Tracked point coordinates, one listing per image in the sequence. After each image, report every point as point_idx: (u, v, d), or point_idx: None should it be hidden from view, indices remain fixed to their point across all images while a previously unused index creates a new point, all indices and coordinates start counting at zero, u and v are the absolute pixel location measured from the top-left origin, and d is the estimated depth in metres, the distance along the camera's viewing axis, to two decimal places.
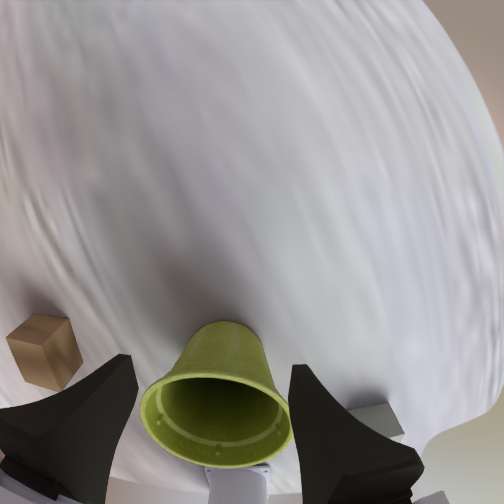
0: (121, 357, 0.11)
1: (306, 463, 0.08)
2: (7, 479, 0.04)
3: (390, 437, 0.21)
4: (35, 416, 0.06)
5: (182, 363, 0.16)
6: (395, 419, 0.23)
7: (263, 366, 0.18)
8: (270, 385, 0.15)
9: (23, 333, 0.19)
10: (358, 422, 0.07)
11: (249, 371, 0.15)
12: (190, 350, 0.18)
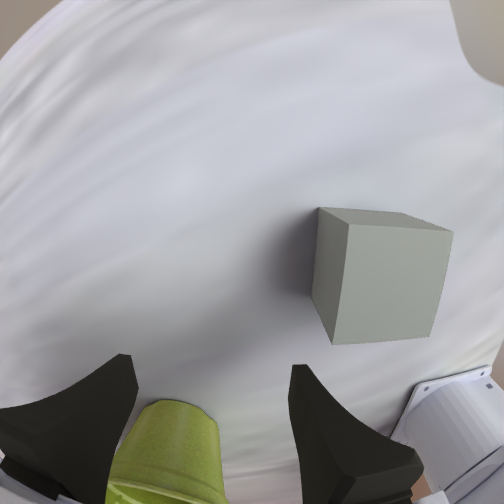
0: (121, 357, 0.11)
1: (306, 463, 0.08)
2: (7, 479, 0.04)
3: (345, 265, 0.10)
4: (36, 416, 0.06)
5: (125, 488, 0.14)
6: (332, 219, 0.12)
7: (126, 445, 0.13)
8: None
9: None
10: (358, 422, 0.07)
11: None
12: None
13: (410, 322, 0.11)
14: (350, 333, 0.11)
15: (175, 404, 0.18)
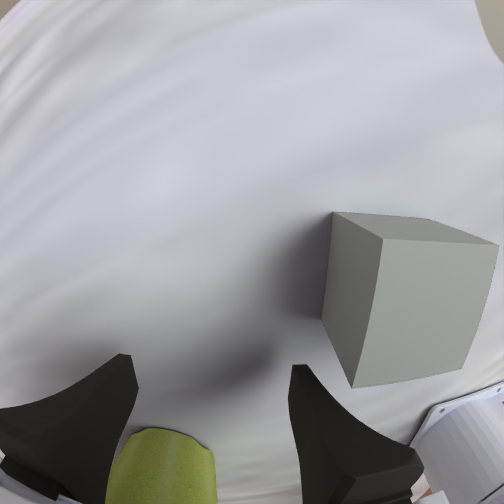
0: (121, 357, 0.11)
1: (306, 463, 0.08)
2: (7, 479, 0.04)
3: (375, 293, 0.07)
4: (36, 416, 0.06)
5: None
6: (354, 229, 0.09)
7: (110, 479, 0.11)
8: None
9: None
10: (358, 422, 0.07)
11: None
12: None
13: (444, 355, 0.08)
14: (374, 374, 0.08)
15: (164, 434, 0.15)
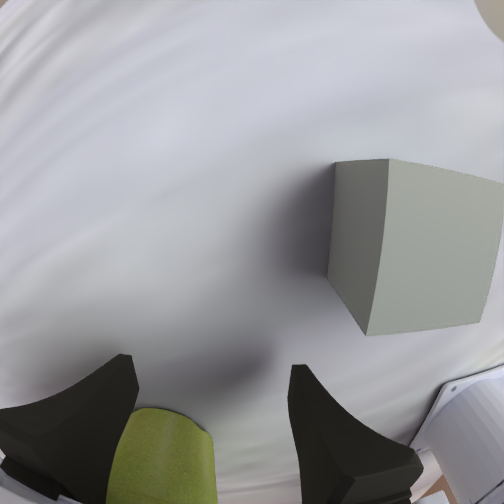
0: (122, 357, 0.11)
1: (305, 463, 0.08)
2: (7, 479, 0.04)
3: (386, 219, 0.07)
4: (36, 416, 0.06)
5: None
6: (358, 166, 0.09)
7: None
8: None
9: None
10: (357, 422, 0.07)
11: None
12: None
13: (461, 303, 0.08)
14: (390, 319, 0.08)
15: (159, 413, 0.14)
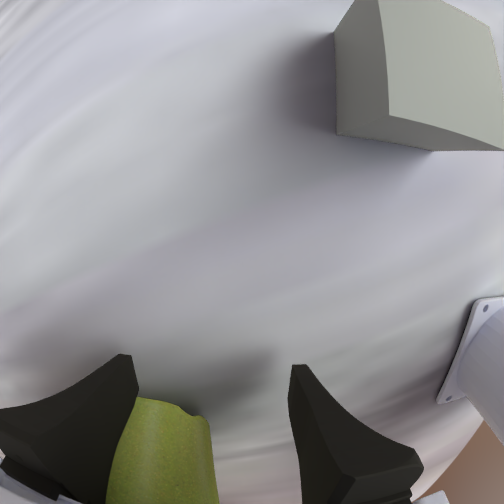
0: (122, 357, 0.11)
1: (306, 463, 0.08)
2: (7, 479, 0.04)
3: (380, 10, 0.05)
4: (36, 416, 0.06)
5: None
6: (352, 8, 0.07)
7: None
8: None
9: None
10: (358, 422, 0.07)
11: None
12: None
13: (481, 115, 0.06)
14: (411, 102, 0.06)
15: (139, 405, 0.11)
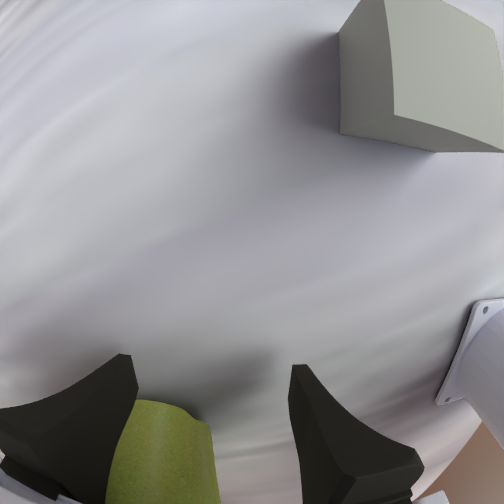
0: (121, 357, 0.11)
1: (306, 463, 0.08)
2: (7, 479, 0.04)
3: (386, 11, 0.05)
4: (36, 416, 0.06)
5: None
6: (358, 8, 0.07)
7: None
8: None
9: None
10: (358, 422, 0.07)
11: None
12: None
13: (485, 116, 0.06)
14: (416, 102, 0.06)
15: (148, 406, 0.12)
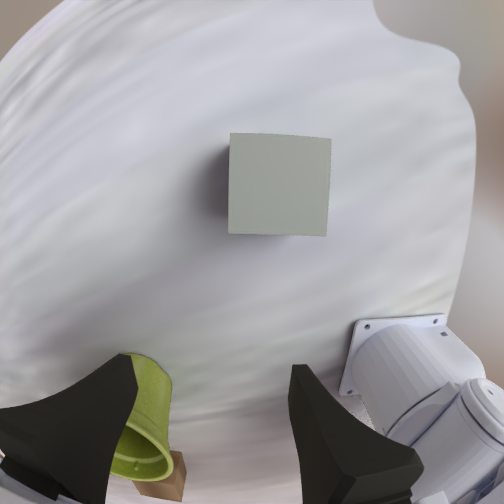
0: (121, 357, 0.11)
1: (306, 463, 0.08)
2: (7, 479, 0.04)
3: (230, 164, 0.14)
4: (35, 416, 0.06)
5: None
6: None
7: None
8: None
9: None
10: (358, 422, 0.07)
11: None
12: None
13: (300, 218, 0.14)
14: (242, 223, 0.15)
15: (134, 356, 0.22)
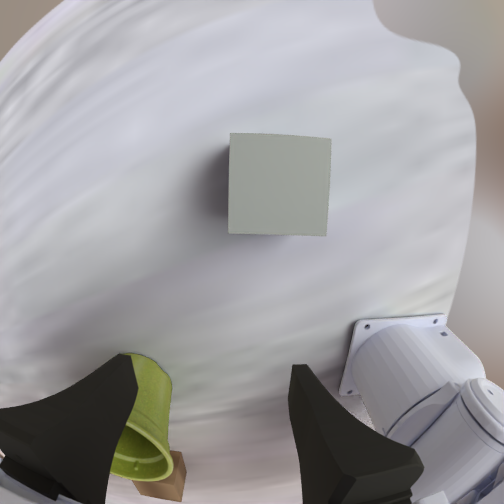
0: (121, 357, 0.11)
1: (306, 463, 0.08)
2: (7, 479, 0.04)
3: (230, 164, 0.14)
4: (35, 416, 0.06)
5: None
6: None
7: None
8: None
9: None
10: (358, 422, 0.07)
11: None
12: None
13: (300, 218, 0.14)
14: (242, 223, 0.15)
15: (134, 356, 0.22)
